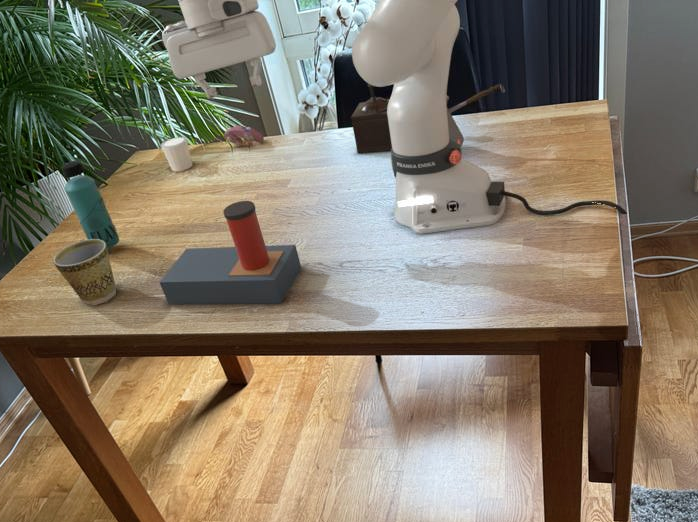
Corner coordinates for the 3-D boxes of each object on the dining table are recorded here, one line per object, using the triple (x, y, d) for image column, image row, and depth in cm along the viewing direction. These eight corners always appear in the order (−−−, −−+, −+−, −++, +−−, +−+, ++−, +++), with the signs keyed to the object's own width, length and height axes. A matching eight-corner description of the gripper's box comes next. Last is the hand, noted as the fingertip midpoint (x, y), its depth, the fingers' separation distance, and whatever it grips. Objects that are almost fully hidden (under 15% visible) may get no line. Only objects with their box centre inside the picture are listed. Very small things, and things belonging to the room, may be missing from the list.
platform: (301, 267, 133) (295, 243, 130) (281, 303, 125) (274, 278, 121) (194, 270, 140) (185, 247, 137) (168, 304, 131) (158, 281, 128)
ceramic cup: (125, 300, 135) (105, 255, 129) (74, 316, 133) (51, 271, 127) (124, 270, 145) (105, 227, 139) (76, 284, 143) (55, 241, 137)
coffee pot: (411, 164, 162) (403, 100, 153) (421, 145, 171) (413, 82, 162) (504, 160, 156) (501, 92, 147) (509, 139, 164) (507, 74, 155)
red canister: (274, 254, 128) (258, 199, 122) (264, 270, 124) (247, 215, 118) (247, 255, 130) (230, 201, 123) (236, 271, 126) (218, 216, 119)
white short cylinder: (188, 171, 183) (180, 145, 179) (165, 173, 185) (156, 148, 180) (198, 160, 188) (190, 135, 184) (175, 162, 190) (167, 137, 186)
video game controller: (230, 151, 194) (218, 134, 188) (236, 138, 195) (223, 120, 189) (261, 151, 190) (249, 133, 184) (266, 138, 191) (255, 120, 185)
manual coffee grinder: (400, 150, 170) (389, 75, 159) (356, 154, 173) (343, 80, 162) (409, 126, 182) (400, 54, 171) (368, 130, 185) (357, 59, 174)
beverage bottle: (96, 260, 151) (56, 173, 138) (91, 249, 155) (51, 164, 143) (125, 249, 152) (88, 163, 140) (120, 239, 157) (83, 154, 145)
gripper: (150, 30, 126) (180, 108, 132) (253, -2, 120) (278, 82, 126) (166, 25, 131) (193, 101, 137) (264, -5, 125) (288, 75, 131)
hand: (235, 91), depth 132 cm, fingers open, 8 cm apart
